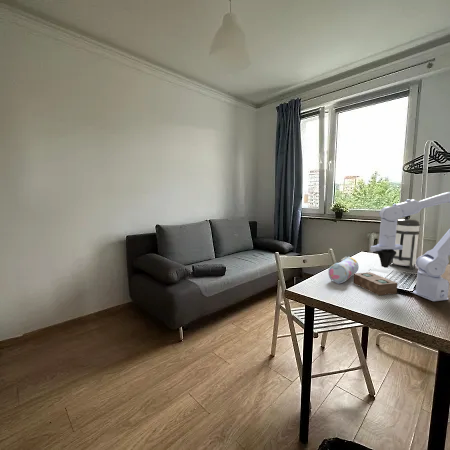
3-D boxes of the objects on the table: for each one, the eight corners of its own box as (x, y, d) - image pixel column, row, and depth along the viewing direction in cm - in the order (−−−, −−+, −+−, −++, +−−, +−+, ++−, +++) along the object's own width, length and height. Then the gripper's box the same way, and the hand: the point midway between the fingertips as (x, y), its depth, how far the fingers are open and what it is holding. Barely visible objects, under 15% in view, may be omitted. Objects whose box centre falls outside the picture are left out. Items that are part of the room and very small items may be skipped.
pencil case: (340, 271, 127) (341, 254, 126) (358, 275, 121) (360, 257, 120) (326, 282, 112) (327, 262, 111) (346, 286, 106) (348, 266, 105)
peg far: (372, 285, 107) (372, 276, 107) (366, 285, 107) (366, 276, 106) (366, 282, 110) (367, 273, 110) (360, 283, 110) (361, 274, 109)
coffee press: (378, 262, 145) (383, 212, 141) (405, 262, 144) (410, 213, 140) (398, 271, 128) (403, 215, 124) (428, 271, 127) (435, 215, 123)
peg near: (387, 292, 99) (388, 282, 99) (381, 292, 99) (382, 283, 98) (381, 289, 103) (382, 279, 102) (375, 289, 102) (375, 280, 101)
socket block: (396, 293, 99) (397, 283, 98) (378, 295, 97) (379, 284, 96) (369, 281, 112) (370, 272, 112) (353, 282, 110) (353, 273, 110)
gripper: (392, 233, 104) (390, 263, 106) (365, 234, 101) (362, 265, 103) (408, 235, 98) (405, 267, 99) (379, 237, 94) (376, 270, 96)
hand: (384, 266), depth 101 cm, fingers closed
